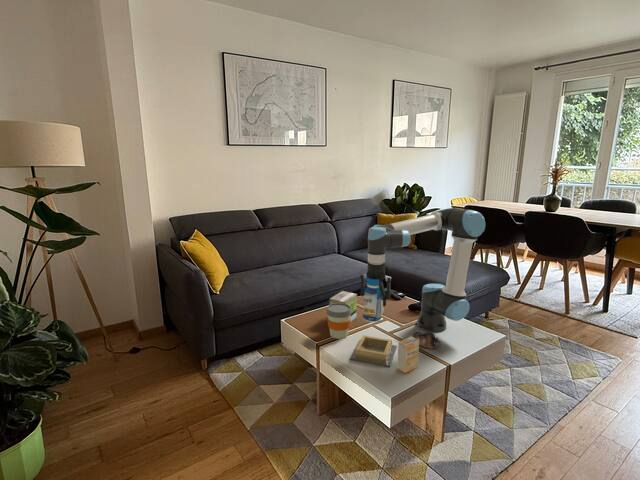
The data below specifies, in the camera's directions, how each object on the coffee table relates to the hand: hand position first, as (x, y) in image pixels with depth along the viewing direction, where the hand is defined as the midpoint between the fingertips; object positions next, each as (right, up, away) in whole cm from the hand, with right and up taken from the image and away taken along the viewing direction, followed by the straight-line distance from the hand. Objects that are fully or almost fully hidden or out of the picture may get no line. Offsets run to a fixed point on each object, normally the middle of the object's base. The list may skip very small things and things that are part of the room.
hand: (374, 311), depth 161 cm
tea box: (-12, -13, +39) cm, 43 cm away
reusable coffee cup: (-15, -17, +23) cm, 32 cm away
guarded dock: (0, -20, +5) cm, 21 cm away
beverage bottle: (-1, -4, +1) cm, 4 cm away
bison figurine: (+26, -19, +11) cm, 34 cm away
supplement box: (+13, -23, -8) cm, 28 cm away
